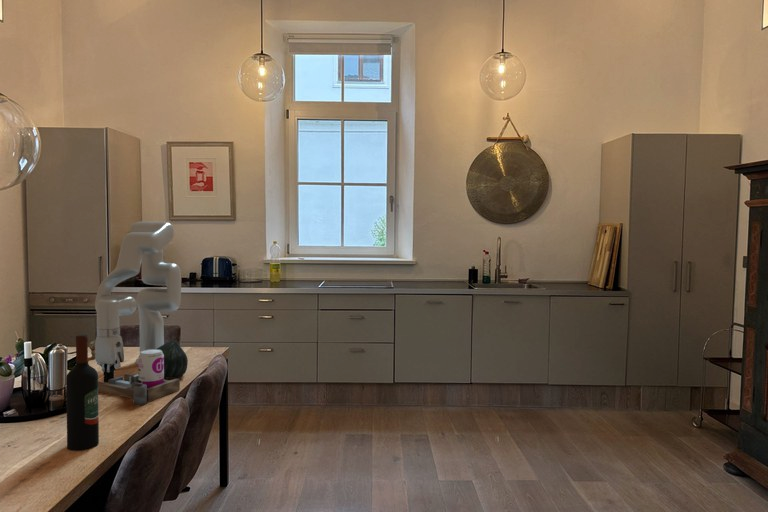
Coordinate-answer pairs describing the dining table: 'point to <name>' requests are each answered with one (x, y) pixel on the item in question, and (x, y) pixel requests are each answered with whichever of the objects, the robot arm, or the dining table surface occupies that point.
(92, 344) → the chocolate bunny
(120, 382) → the follower
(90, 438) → the wine bottle
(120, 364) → the robot arm
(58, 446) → the dining table surface
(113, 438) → the dining table surface
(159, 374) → the supplement can
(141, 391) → the bay
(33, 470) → the dining table surface
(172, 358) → the squash
